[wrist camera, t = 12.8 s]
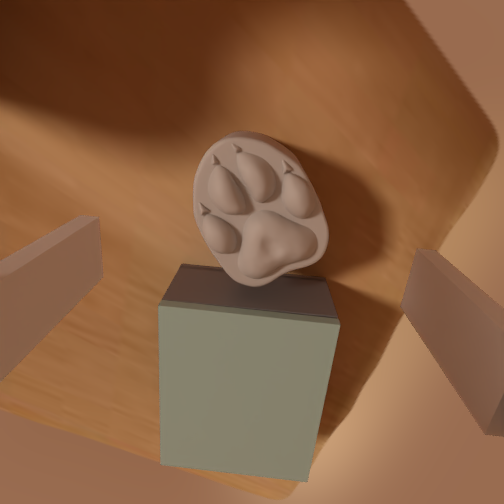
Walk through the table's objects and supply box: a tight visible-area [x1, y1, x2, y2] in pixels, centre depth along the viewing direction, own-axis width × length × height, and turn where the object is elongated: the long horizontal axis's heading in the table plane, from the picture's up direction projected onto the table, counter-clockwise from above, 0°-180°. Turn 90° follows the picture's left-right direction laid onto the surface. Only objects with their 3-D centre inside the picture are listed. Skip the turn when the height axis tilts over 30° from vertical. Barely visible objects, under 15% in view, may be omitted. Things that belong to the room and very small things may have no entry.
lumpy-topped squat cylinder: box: [193, 131, 329, 287], centre depth 33 cm, size 10×13×9 cm
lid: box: [158, 300, 340, 482], centre depth 36 cm, size 20×16×1 cm
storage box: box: [162, 264, 338, 319], centre depth 40 cm, size 20×16×8 cm
